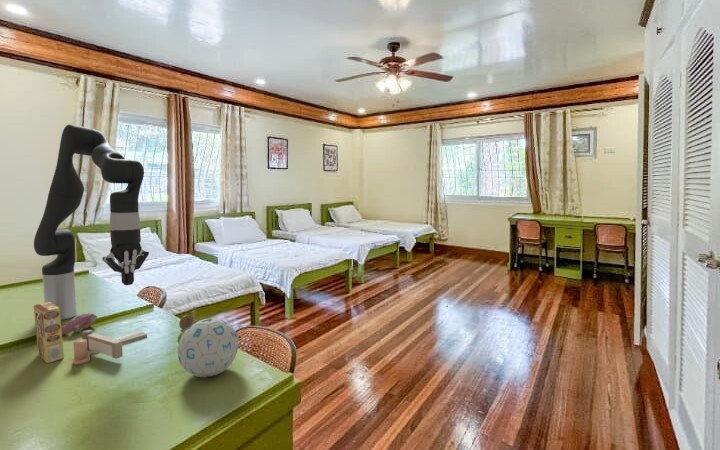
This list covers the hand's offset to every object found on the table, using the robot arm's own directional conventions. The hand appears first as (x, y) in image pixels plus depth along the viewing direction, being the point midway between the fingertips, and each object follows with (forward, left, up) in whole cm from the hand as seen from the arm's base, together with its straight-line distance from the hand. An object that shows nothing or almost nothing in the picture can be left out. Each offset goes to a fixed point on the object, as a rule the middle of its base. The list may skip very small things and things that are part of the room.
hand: (127, 284), depth 110 cm
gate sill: (-9, -1, -21) cm, 23 cm away
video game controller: (-31, -3, -21) cm, 37 cm away
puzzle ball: (+31, +6, -21) cm, 38 cm away
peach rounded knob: (-4, -11, -21) cm, 24 cm away
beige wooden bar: (-2, -7, -19) cm, 21 cm away
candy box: (-14, -16, -21) cm, 30 cm away
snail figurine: (+11, +12, -21) cm, 27 cm away
